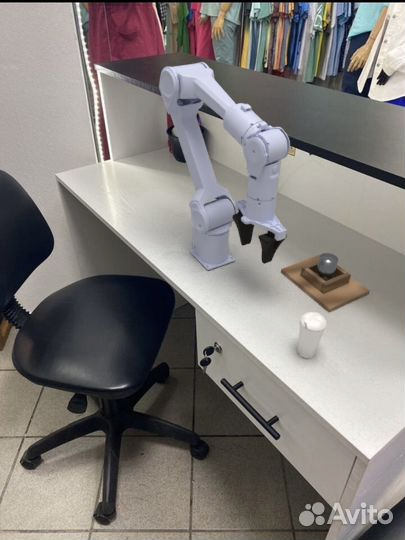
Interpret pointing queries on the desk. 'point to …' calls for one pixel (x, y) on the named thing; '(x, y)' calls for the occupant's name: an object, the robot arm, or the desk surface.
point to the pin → (327, 266)
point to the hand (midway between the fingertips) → (255, 252)
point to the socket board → (325, 284)
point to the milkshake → (310, 333)
